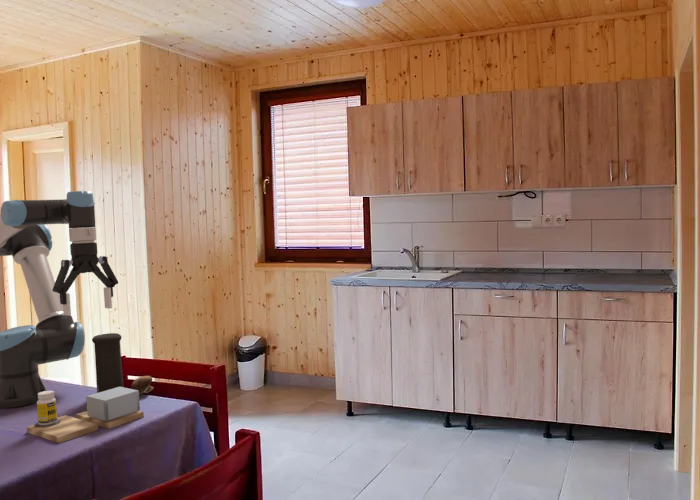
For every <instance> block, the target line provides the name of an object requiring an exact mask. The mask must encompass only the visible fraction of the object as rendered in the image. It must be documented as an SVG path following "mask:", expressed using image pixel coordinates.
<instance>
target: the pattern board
mask: <svg viewBox="0 0 700 500" xmlns="http://www.w3.org/2000/svg"><path fill="white" fill-rule="evenodd" d="M144 413H145V412H144V410H143V411H141V410H139V411H136V412H133V413H130V414H127V415H124V416H121V417H118V418H115V419H112V420H109V421H104V420H100V419H96V418H93V417H89V416H88V411H87V410H86V411H83V412H79V413H76V414H75V418H77V419H80V420H84V421H88V422H91V423H95V424H98V427H102V428H105V429H109V430H110V429H112V428H116V427H117V426H118V427H119V426H122V425H123V424H126V423H130V422H133V421H136V420H139V419H141V418H144Z"/></svg>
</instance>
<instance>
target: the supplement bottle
mask: <svg viewBox="0 0 700 500" xmlns="http://www.w3.org/2000/svg"><path fill="white" fill-rule="evenodd" d="M38 399H39V400H38V401H37V403H36V411H37V420H38V421H37V423H38V424H39V425H50V424H53V423H55V422H57V418H58V412H57V411H58V409H57V399H56V397H55V391H54V390H46V391H43V392H40V393H38Z"/></svg>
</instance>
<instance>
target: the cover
mask: <svg viewBox="0 0 700 500" xmlns="http://www.w3.org/2000/svg"><path fill="white" fill-rule="evenodd" d="M140 404H141V403H140V395H139V391H138V390H134V389H131V388H128V387H117V388H113V389H110V390H106V391H103V392H99V393H97V392H96V393H93V394H90V395H86V411H88V416H89V417H93V418H96V419H100V420H104V421H109V420H112V419H115V418H118V417H121V416H124V415H127V414H130V413H133V412H136V411H141V407H140Z"/></svg>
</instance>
